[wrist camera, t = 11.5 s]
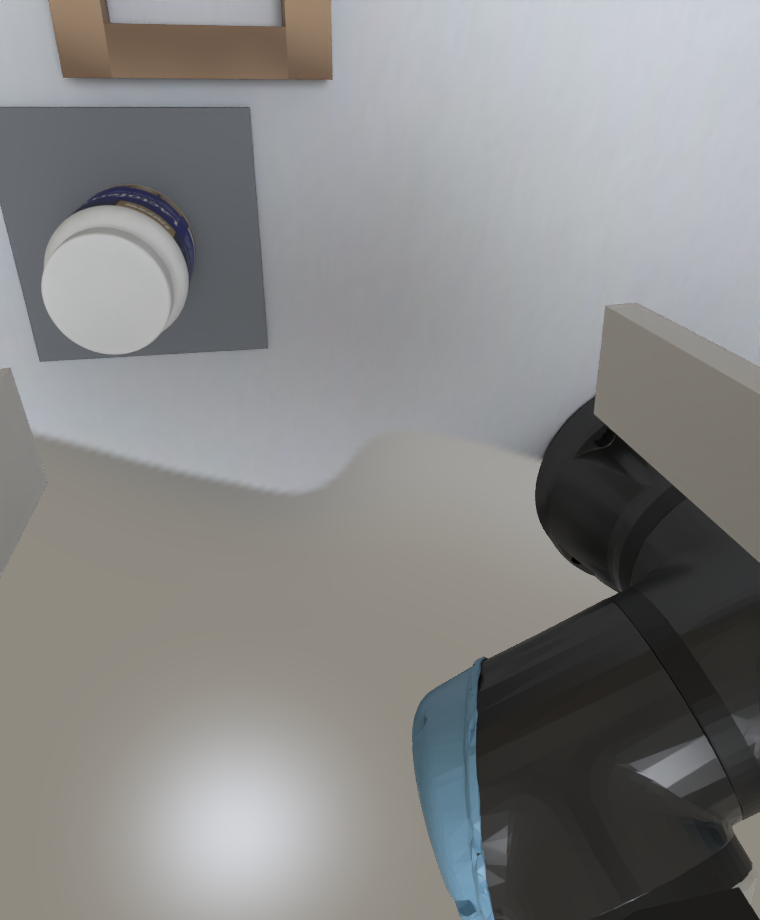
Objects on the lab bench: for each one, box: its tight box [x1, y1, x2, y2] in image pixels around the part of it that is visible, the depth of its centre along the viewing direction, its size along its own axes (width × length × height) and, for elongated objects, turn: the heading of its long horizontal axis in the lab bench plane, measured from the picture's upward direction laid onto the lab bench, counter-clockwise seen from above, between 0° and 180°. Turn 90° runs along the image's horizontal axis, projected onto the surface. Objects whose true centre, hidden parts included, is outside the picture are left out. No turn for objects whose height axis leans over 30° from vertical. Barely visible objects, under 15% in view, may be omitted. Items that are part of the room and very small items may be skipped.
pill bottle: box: [41, 184, 196, 355], centre depth 30 cm, size 6×6×10 cm
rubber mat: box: [0, 107, 268, 362], centre depth 35 cm, size 12×12×1 cm
